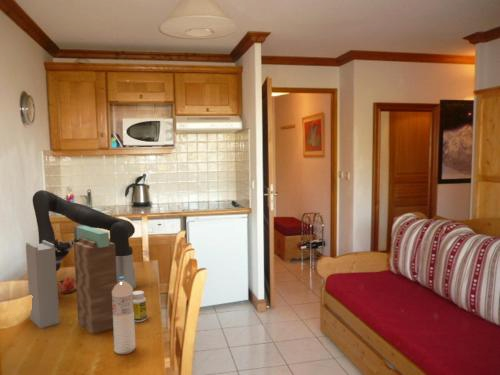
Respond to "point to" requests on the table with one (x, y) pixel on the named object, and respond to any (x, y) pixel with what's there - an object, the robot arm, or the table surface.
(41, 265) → the grey stand
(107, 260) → the walnut stand
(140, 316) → the pill bottle
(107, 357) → the table surface
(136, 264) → the table surface
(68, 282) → the pomegranate
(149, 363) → the table surface
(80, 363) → the table surface
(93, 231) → the teal bar
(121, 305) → the water bottle
